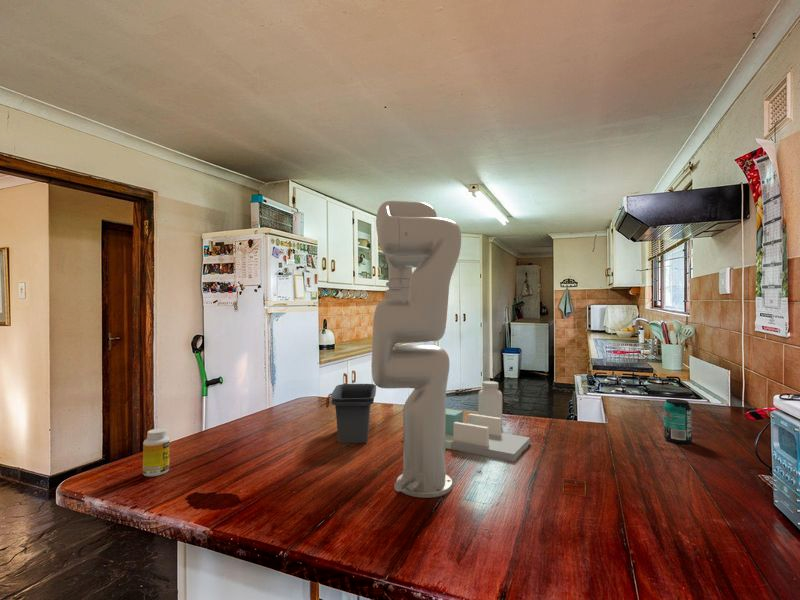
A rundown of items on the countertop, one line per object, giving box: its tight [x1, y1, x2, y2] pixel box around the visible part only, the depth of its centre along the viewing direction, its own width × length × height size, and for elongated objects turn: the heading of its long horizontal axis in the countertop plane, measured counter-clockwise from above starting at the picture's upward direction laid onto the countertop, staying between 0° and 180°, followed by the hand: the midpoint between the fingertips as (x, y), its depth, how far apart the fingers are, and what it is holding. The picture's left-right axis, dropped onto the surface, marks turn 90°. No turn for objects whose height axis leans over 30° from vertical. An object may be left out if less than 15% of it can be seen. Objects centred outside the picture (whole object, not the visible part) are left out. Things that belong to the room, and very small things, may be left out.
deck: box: [445, 413, 531, 463], centre depth 122 cm, size 16×34×7 cm, turn 58°
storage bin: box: [325, 383, 377, 444], centre depth 129 cm, size 21×16×14 cm
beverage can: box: [663, 398, 693, 445], centre depth 123 cm, size 7×7×12 cm
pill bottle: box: [477, 380, 503, 427], centre depth 138 cm, size 8×8×15 cm
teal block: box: [445, 408, 464, 435], centre depth 126 cm, size 6×6×6 cm
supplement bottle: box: [142, 427, 171, 477], centre depth 100 cm, size 6×6×10 cm
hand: (400, 342), depth 131 cm, fingers closed
